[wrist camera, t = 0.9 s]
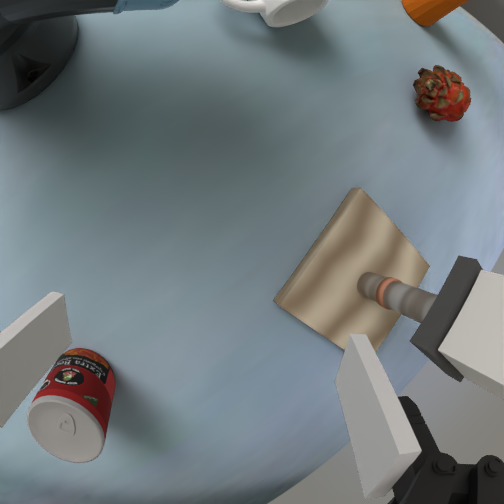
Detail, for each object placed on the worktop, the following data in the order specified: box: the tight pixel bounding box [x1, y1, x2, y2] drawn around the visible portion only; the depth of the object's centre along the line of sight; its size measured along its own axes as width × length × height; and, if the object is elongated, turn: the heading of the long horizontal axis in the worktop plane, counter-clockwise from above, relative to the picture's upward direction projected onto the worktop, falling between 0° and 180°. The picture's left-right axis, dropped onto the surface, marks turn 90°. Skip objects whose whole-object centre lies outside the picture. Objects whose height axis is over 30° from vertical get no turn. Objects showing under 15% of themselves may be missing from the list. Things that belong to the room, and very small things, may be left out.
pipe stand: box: [273, 188, 438, 352], centre depth 21 cm, size 16×16×34 cm
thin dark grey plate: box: [410, 256, 483, 382], centre depth 21 cm, size 8×8×2 cm
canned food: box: [27, 348, 115, 463], centre depth 25 cm, size 8×8×11 cm
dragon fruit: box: [413, 65, 471, 121], centre depth 34 cm, size 8×8×12 cm
